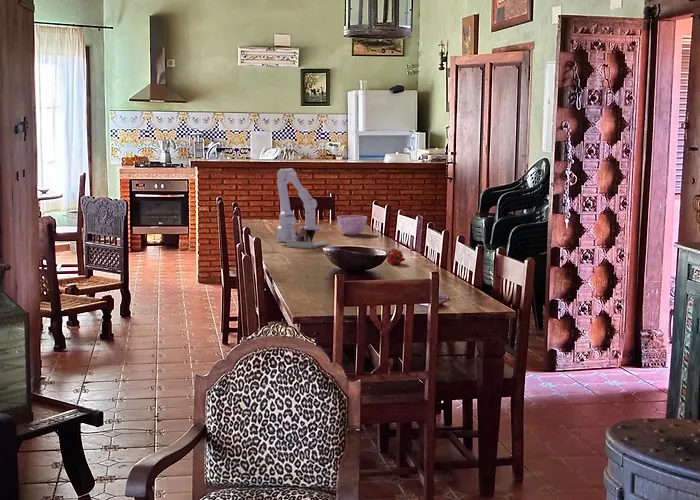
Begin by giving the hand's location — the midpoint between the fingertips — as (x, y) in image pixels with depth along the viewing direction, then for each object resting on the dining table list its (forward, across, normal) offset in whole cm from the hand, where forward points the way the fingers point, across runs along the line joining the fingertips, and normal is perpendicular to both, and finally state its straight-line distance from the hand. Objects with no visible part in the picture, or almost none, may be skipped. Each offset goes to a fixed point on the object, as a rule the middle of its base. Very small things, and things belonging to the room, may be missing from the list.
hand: (310, 242), depth 505 cm
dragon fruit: (+1, +69, -46) cm, 83 cm away
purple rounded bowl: (+1, +5, +54) cm, 54 cm away
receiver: (+1, 0, -6) cm, 6 cm away
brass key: (+1, -11, -10) cm, 15 cm away
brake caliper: (+1, -2, -8) cm, 8 cm away
